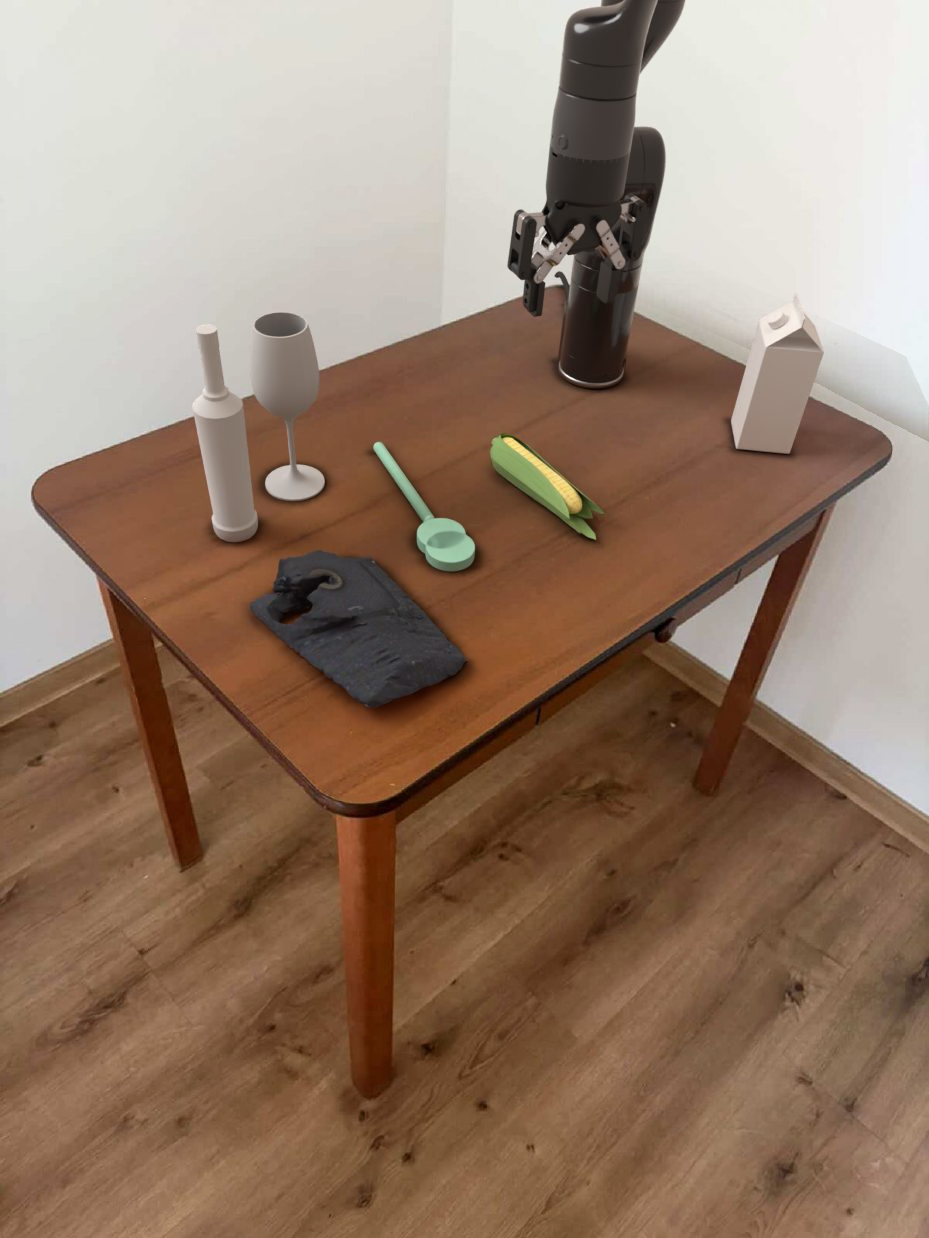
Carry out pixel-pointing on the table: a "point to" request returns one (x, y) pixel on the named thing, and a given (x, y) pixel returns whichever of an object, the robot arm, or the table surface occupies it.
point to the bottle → (223, 446)
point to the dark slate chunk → (357, 627)
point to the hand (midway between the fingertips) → (569, 306)
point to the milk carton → (777, 380)
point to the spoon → (432, 525)
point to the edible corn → (542, 482)
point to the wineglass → (286, 391)
